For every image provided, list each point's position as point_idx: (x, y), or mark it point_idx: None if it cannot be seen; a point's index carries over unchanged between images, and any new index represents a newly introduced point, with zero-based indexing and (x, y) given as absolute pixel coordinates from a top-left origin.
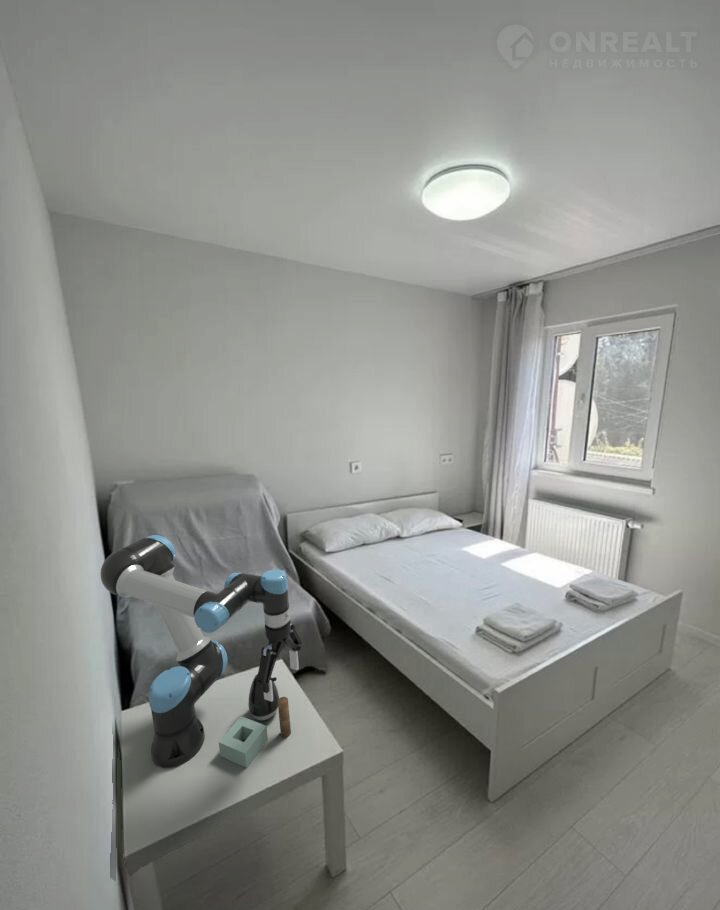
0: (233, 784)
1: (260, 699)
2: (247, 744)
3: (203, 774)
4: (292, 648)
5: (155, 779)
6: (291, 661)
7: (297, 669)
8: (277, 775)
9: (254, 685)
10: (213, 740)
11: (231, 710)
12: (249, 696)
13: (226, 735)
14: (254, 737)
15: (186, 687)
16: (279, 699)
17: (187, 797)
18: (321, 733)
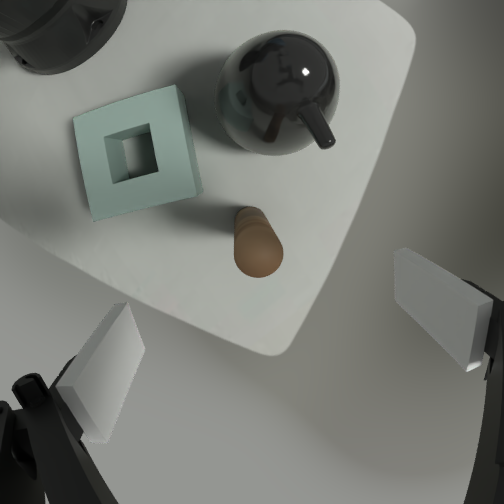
0: (71, 221)
1: (234, 119)
2: (114, 201)
3: (47, 137)
4: (497, 327)
5: (3, 70)
6: (421, 280)
7: (398, 303)
8: (149, 295)
9: (240, 67)
10: (115, 63)
11: (215, 15)
12: (226, 61)
13: (97, 114)
14: (142, 198)
15: None
16: (255, 234)
17: (9, 162)
18: (305, 308)
